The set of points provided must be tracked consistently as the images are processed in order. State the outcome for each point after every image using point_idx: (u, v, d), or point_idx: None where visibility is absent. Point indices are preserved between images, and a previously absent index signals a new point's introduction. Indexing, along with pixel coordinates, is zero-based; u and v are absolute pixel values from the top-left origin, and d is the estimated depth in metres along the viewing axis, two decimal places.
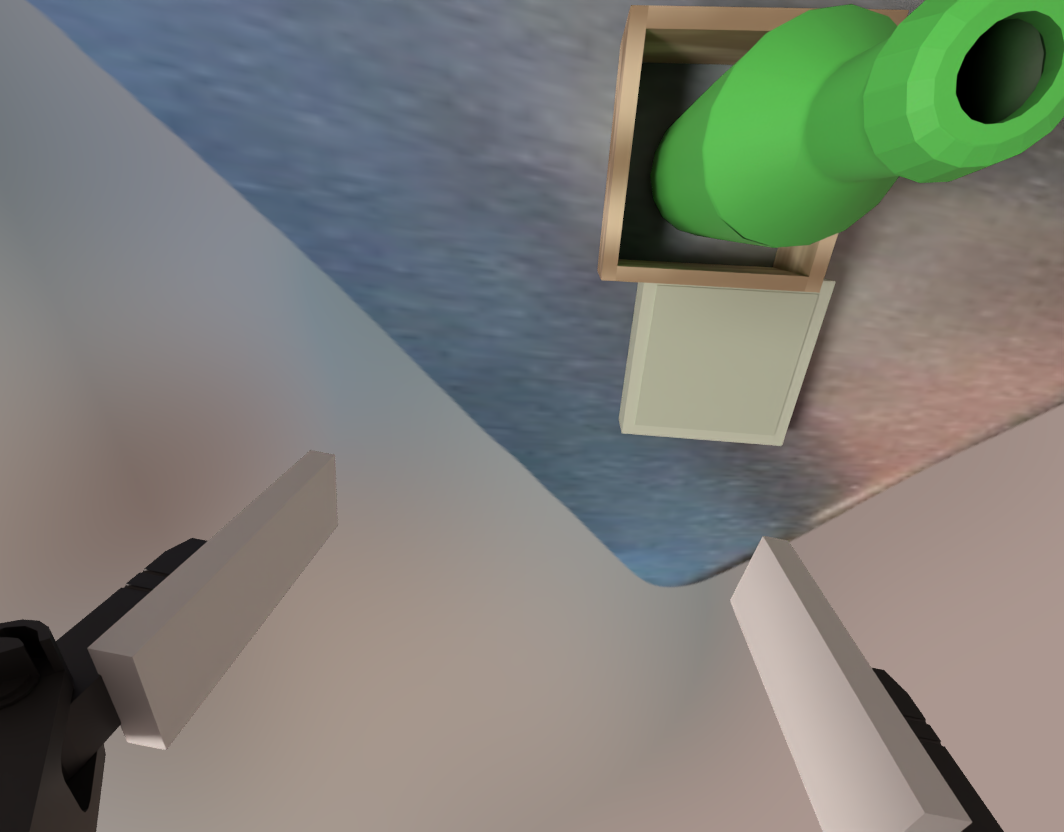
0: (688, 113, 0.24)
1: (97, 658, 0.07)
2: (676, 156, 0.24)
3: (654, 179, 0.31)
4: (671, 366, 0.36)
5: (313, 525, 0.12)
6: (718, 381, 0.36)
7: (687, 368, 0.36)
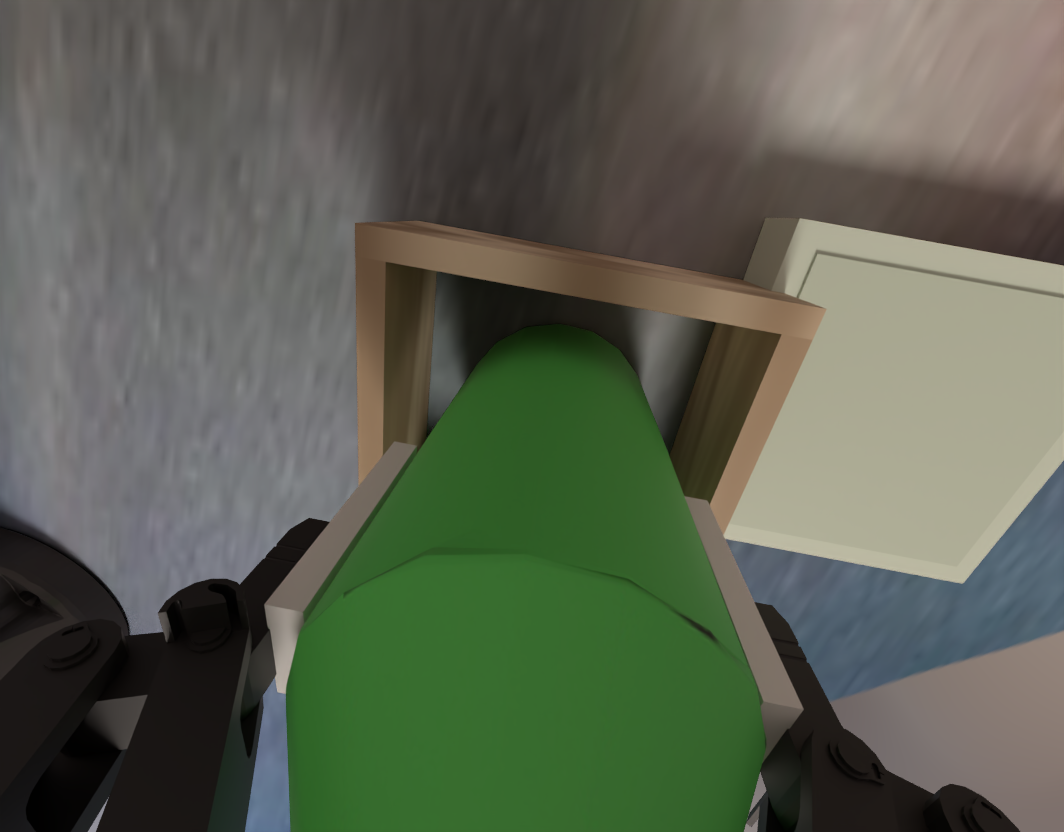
0: None
1: (270, 614, 0.08)
2: None
3: None
4: (861, 504, 0.20)
5: None
6: (933, 433, 0.18)
7: (878, 483, 0.19)
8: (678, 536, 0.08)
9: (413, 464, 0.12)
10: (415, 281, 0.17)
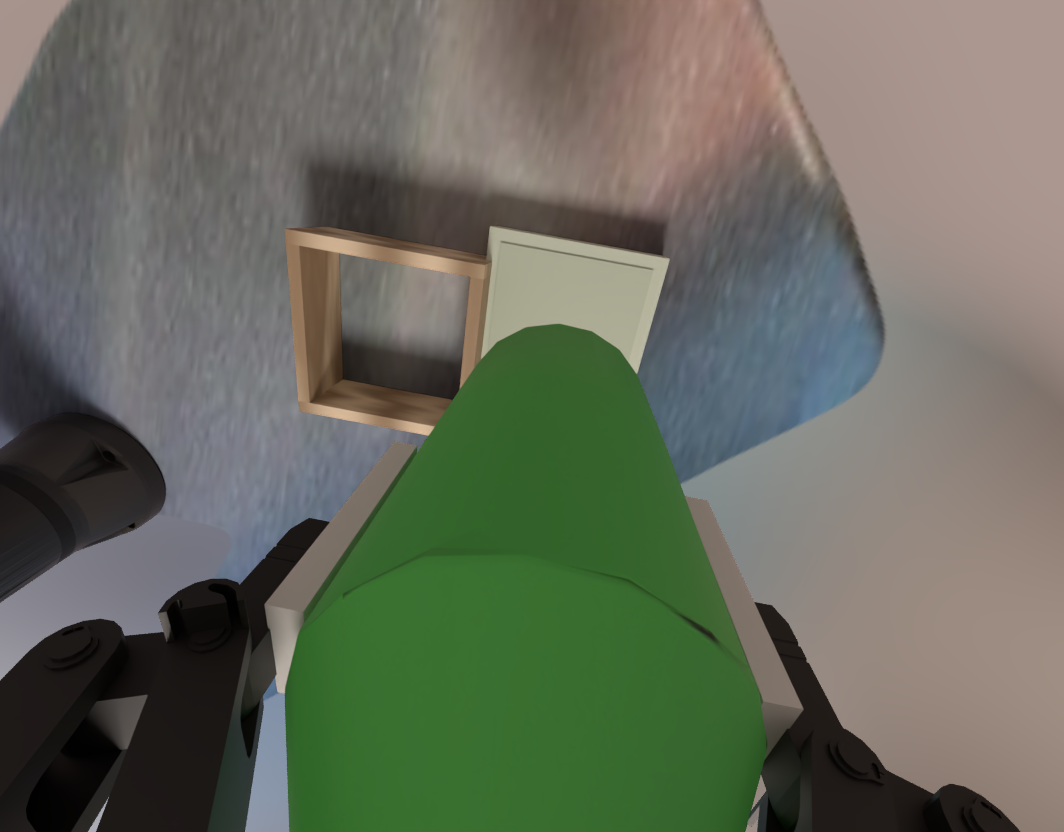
0: None
1: (270, 613, 0.08)
2: None
3: None
4: None
5: None
6: None
7: None
8: (679, 536, 0.08)
9: (413, 464, 0.11)
10: (321, 256, 0.35)
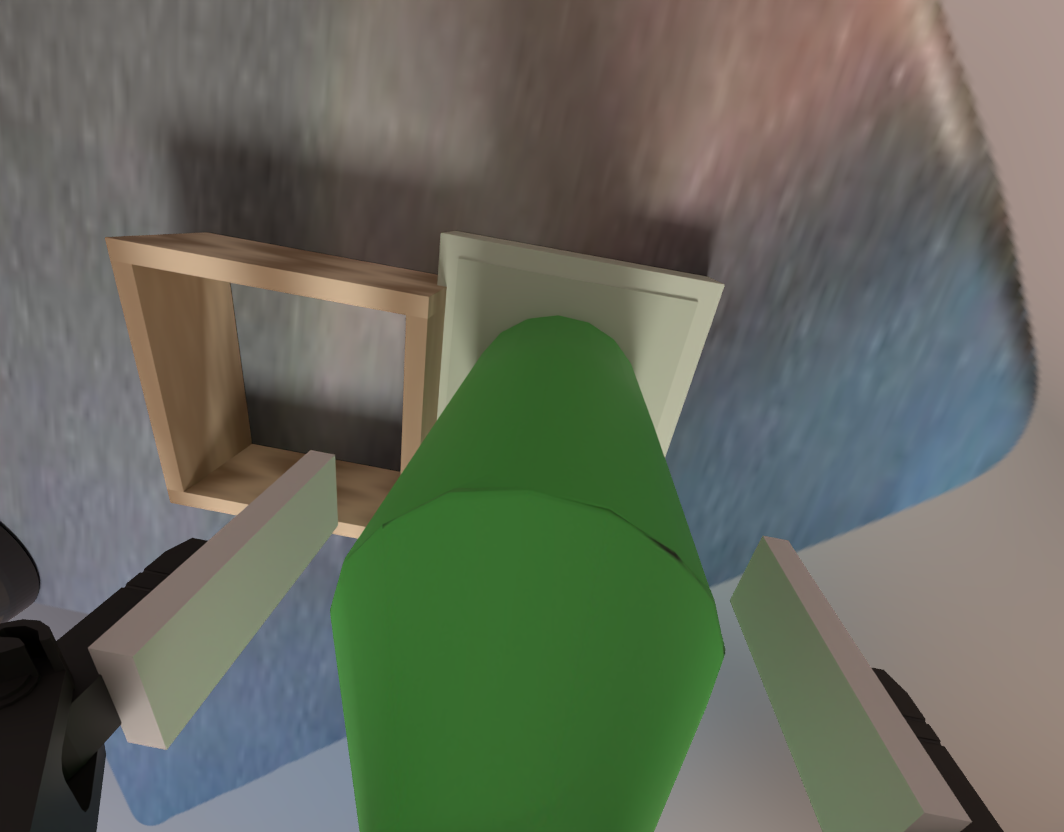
0: None
1: (98, 658, 0.07)
2: None
3: None
4: None
5: (313, 525, 0.12)
6: None
7: None
8: (655, 487, 0.10)
9: (429, 435, 0.13)
10: (189, 278, 0.23)
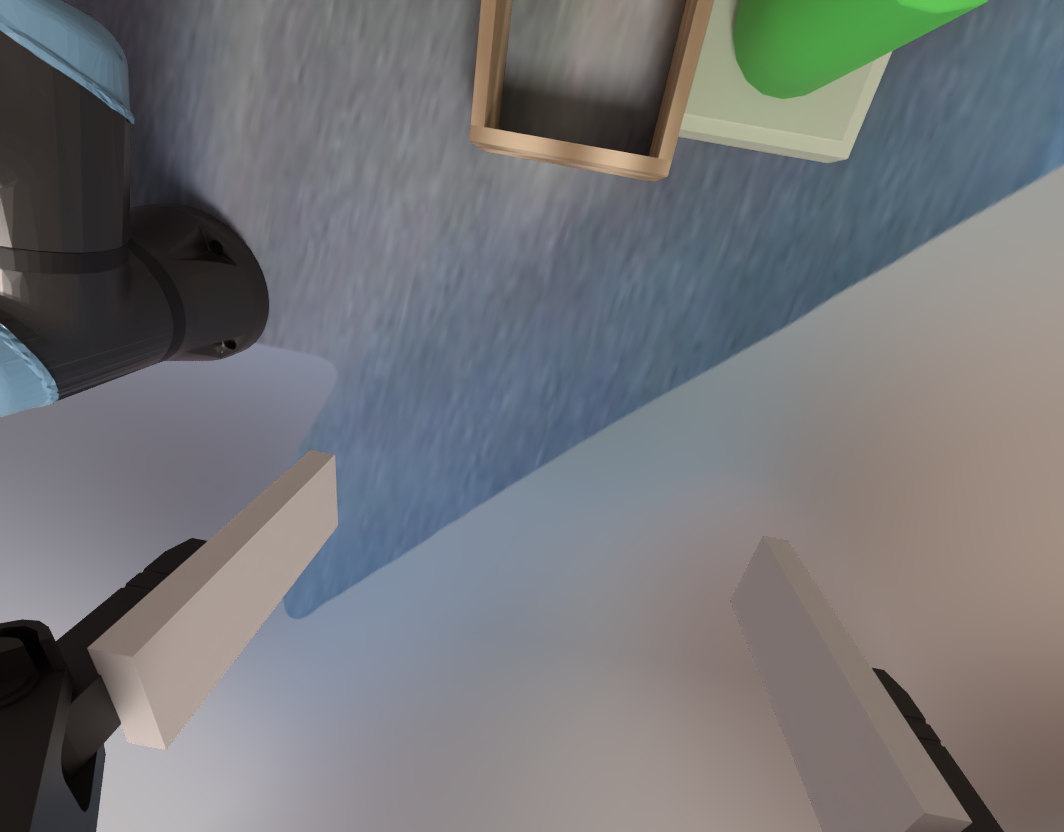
0: (804, 45, 0.24)
1: (97, 658, 0.07)
2: (850, 57, 0.23)
3: (798, 92, 0.30)
4: None
5: (313, 525, 0.12)
6: None
7: None
8: None
9: None
10: None
